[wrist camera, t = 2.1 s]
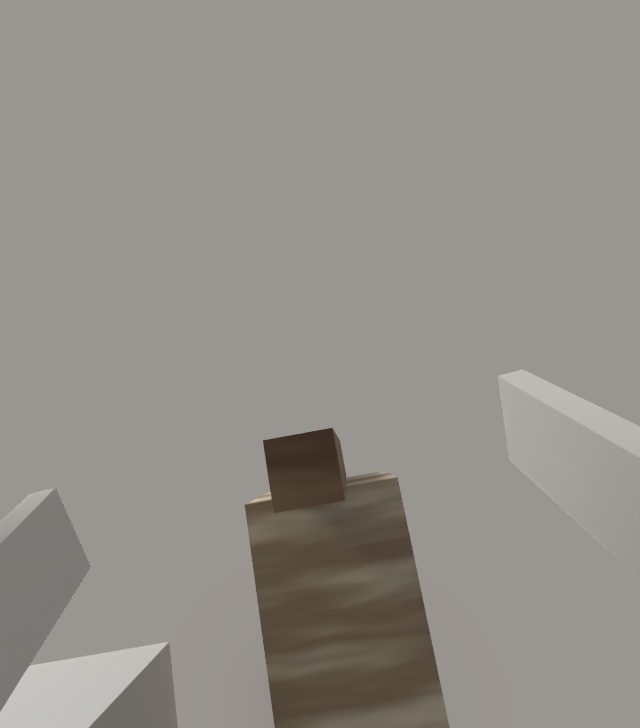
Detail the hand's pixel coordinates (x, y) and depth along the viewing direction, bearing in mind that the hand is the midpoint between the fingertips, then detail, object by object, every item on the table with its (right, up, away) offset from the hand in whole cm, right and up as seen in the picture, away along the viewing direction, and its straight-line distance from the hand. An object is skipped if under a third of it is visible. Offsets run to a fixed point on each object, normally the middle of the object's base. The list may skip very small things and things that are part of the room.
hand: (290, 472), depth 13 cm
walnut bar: (+1, -7, +24) cm, 25 cm away
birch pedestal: (+7, -37, +21) cm, 43 cm away
